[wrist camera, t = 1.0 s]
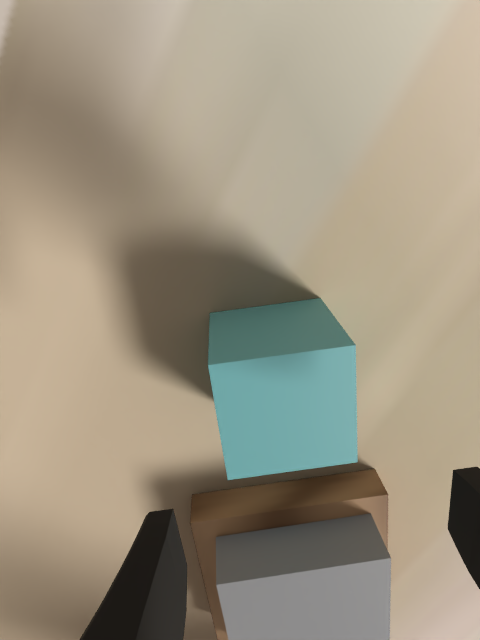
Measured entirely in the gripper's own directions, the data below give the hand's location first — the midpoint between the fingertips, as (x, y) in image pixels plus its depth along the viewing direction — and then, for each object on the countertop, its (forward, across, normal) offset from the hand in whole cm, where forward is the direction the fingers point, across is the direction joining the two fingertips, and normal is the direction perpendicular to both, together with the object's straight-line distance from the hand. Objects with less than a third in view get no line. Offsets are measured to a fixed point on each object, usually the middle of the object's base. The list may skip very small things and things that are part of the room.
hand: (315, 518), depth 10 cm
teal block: (+9, 0, 0) cm, 9 cm away
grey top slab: (+8, 0, +13) cm, 15 cm away
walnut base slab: (+10, 0, +13) cm, 16 cm away
